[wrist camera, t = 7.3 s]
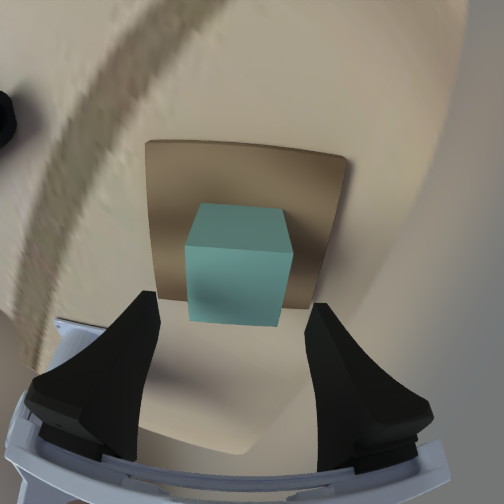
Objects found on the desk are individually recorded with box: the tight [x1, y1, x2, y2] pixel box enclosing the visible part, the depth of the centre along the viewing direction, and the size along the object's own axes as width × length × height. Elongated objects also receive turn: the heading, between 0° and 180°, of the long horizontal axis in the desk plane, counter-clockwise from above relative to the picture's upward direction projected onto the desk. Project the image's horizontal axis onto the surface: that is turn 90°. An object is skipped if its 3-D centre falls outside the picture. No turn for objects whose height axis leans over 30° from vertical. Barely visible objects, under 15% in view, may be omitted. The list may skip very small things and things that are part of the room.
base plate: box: [145, 140, 347, 309], centre depth 17 cm, size 12×12×4 cm
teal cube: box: [185, 203, 293, 327], centre depth 16 cm, size 5×5×5 cm
